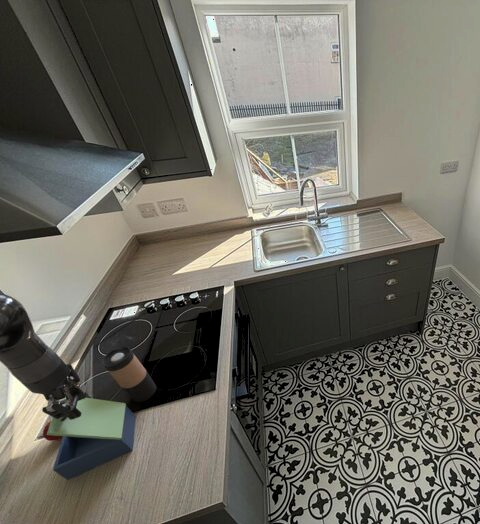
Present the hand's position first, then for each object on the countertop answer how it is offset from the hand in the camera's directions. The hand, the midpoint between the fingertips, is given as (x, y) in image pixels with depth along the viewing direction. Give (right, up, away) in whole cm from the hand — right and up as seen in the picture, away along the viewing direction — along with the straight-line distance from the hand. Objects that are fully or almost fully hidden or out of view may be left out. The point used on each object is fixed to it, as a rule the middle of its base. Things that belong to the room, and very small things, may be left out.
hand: (79, 407), depth 78 cm
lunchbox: (-1, -16, +10) cm, 19 cm away
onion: (-17, -15, +13) cm, 26 cm away
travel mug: (+1, -7, +24) cm, 25 cm away
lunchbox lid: (0, -5, +3) cm, 5 cm away
